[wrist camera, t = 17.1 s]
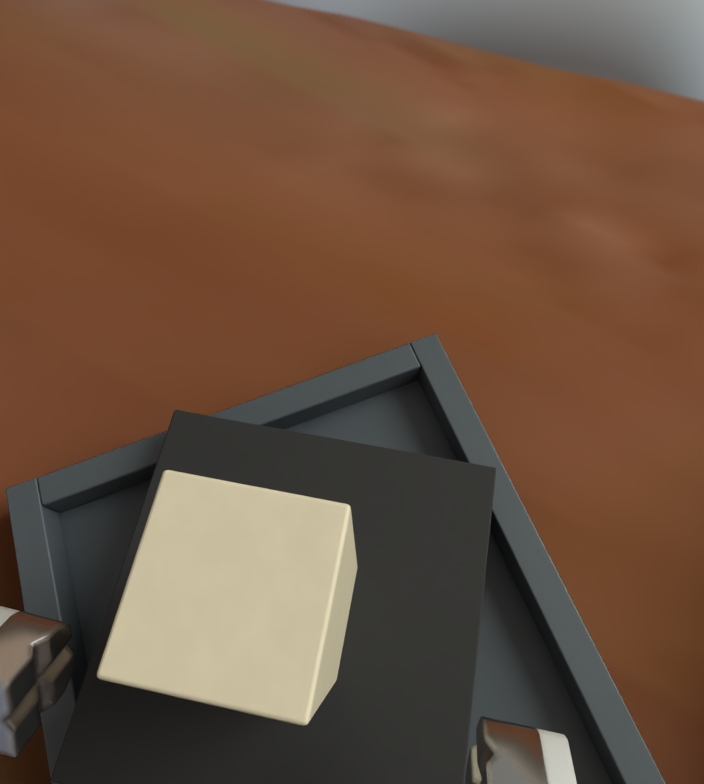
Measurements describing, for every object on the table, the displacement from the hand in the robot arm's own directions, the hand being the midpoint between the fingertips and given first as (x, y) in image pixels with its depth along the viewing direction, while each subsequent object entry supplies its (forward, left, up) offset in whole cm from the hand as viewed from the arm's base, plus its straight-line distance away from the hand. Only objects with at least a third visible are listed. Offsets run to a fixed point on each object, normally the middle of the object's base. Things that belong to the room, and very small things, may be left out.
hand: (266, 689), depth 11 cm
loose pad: (+1, +1, -5) cm, 6 cm away
